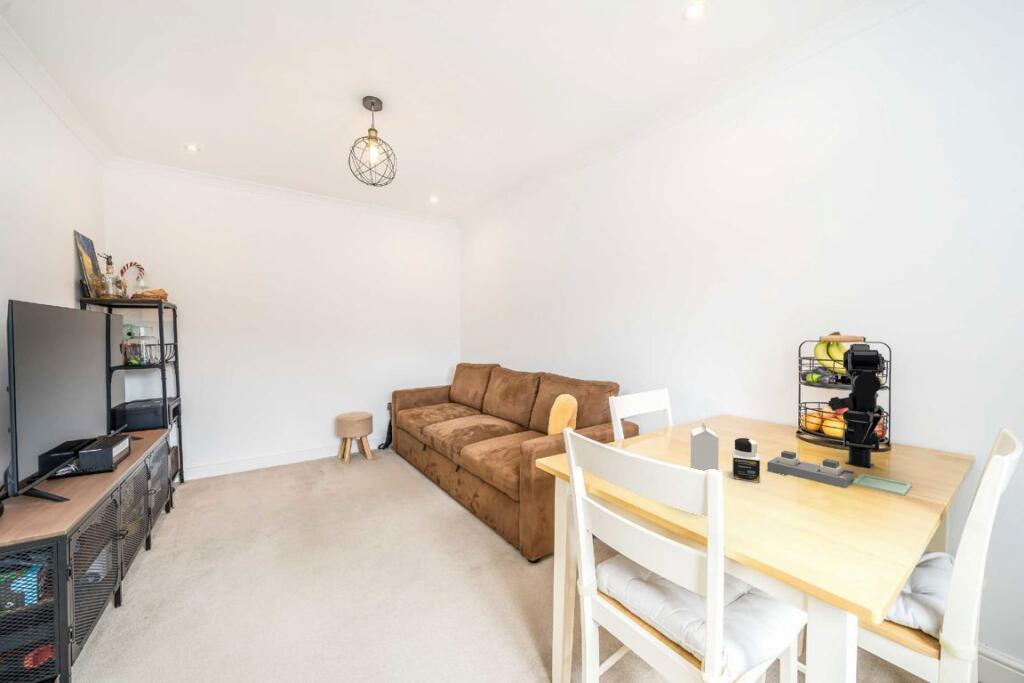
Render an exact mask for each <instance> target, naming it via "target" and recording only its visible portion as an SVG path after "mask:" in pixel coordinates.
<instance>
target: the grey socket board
mask: <svg viewBox="0 0 1024 683" xmlns="http://www.w3.org/2000/svg"><path fill="white" fill-rule="evenodd" d="M779 457H780V456H777V457H774V458H773V459H770V460H769V461H767V472H770V471H772V472H771V473H774V472H776V473H775V474H778V473H780V474H779V475H782V474H784V475H783V476H786V475H787V476H792V477H797V478H801V479H805V480H810V481H814V482H818V483H820V484H821V483H822V484H825V485H830V486H834V487H839V488H843V489H846V488H847V487H848V486H849V485H851V484H853V481H854V480H855V479H854V478H855V477H854V475H855V471H853V470H847V469H842V475H841V476H835V475H830V474H826V473H821V472H820V466H821V465H819V464H815V463H810V462H804V461H801V460H798V466H796V467H795V466H790V465H786V464H781V463H779Z"/></svg>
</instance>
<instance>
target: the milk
mask: <svg viewBox="0 0 1024 683" xmlns="http://www.w3.org/2000/svg"><path fill="white" fill-rule="evenodd" d="M719 448H720V447H719V436H718V435H717V434H716V432H715V431H713V430H711V429H709V428H708V427H707V424H706V423H705V421H704V420H703V419H702V420H701V425H699V426H698V427H696V428H694V429H692V430H690V469H691V468H694V469H698V470H703V471H705V470H708V469H716V470H718V471H719V461H720V460H719V455H720V454H719V450H720V449H719Z"/></svg>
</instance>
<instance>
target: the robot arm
mask: <svg viewBox="0 0 1024 683" xmlns="http://www.w3.org/2000/svg"><path fill="white" fill-rule="evenodd" d="M870 348H871V346H870V344H868V343H853V344H850V345H849V348H848V349H847V350H846V351H844V352H843V355H842V356H843V357H842V368H844V369H845V375H846V376H847V377H848V378H849V379H850V386H851V388H850V389H851V391H850V392H849V393H848V396H847V397H839V396H835V397H830V400H828V401H827V402H828V407H830V408H831V411H832V412H833V411H837V410H840V409H842V410H843V409H846V410H845V411H844V412H843V413H842V419H843V420H844V421H845V422H847V423H846V428H843V447H845V448H846V447H847V448H848V459H847V461H846V462H844V464H845V465H849V466H850V465H851V466H855V467H859V468H865V469H872V467H874V466H875V463H872V451H880V442H881V437H880V436H879V434H878V432H875V431H876V428H877V426H878V424H879V423H880V422H881V420H882V419H883V416H884V414H885V409H884V408H883V406H881V405H879V404H878V405H877V399H878V398H879V393H877V392H879V391H880V389H881V384H882V382H881V381H880V379H879V378H878V376H877V373H878V374H883V373H884V371H886V365H885V364H886V363H885V358H884V356H883V354H882V353H880V352H879V350H878V349H870Z"/></svg>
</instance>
